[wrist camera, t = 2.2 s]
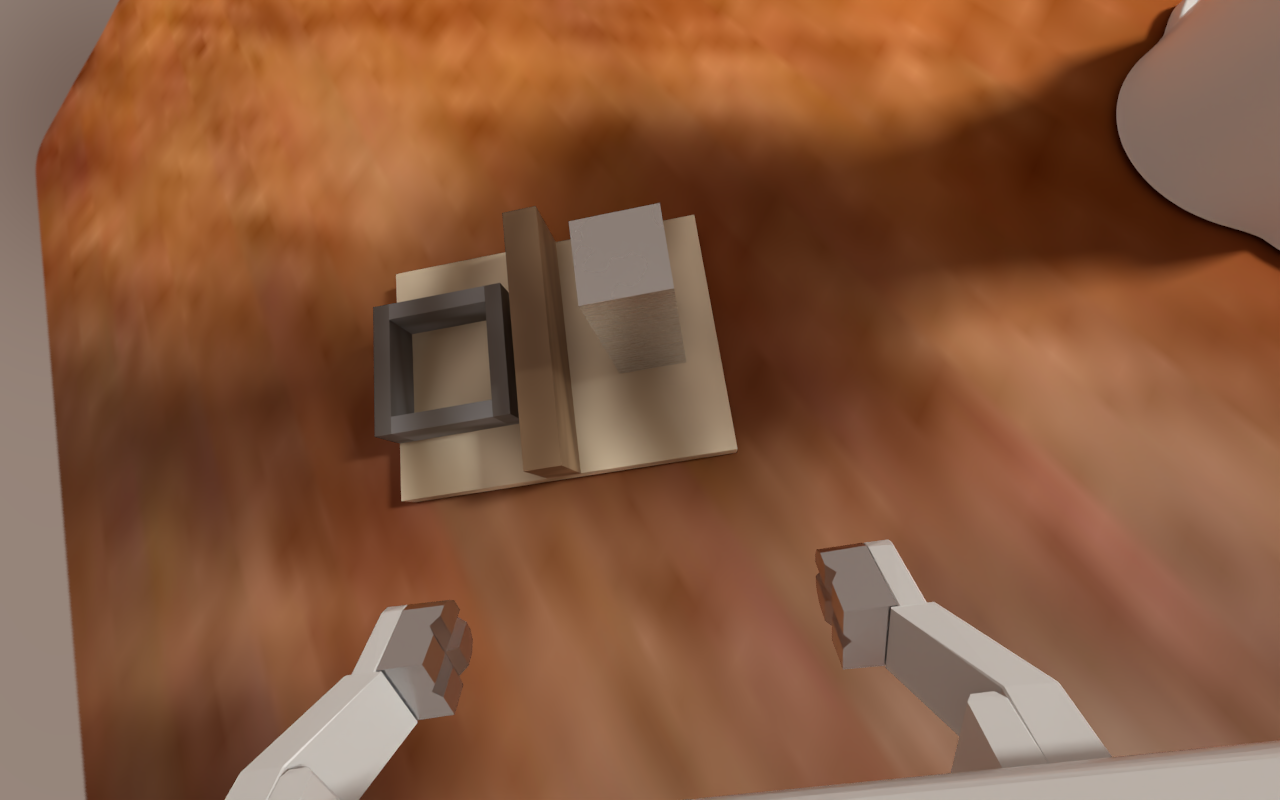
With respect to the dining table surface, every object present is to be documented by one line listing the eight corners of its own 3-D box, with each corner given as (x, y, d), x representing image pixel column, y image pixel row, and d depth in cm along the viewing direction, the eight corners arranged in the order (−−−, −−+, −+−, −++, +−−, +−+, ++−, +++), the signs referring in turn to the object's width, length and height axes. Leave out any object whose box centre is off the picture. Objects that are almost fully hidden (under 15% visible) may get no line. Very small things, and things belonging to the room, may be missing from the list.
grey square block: (676, 300, 32) (659, 202, 23) (686, 362, 31) (674, 288, 22) (611, 312, 33) (568, 221, 23) (619, 373, 32) (578, 306, 22)
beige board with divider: (694, 227, 35) (691, 173, 29) (736, 452, 31) (741, 437, 26) (408, 284, 37) (356, 243, 31) (415, 502, 33) (357, 497, 28)
